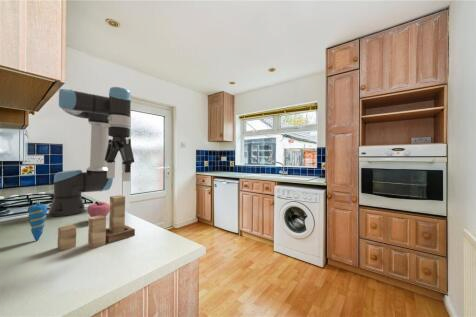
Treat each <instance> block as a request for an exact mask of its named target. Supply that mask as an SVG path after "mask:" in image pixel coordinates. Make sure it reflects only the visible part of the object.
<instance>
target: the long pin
mask: <svg viewBox="0 0 476 317" xmlns="http://www.w3.org/2000/svg"><path fill="white" fill-rule="evenodd" d="M109 207H110V211H109V219H108V220H109V221H108V222H109V224H108V225H109V226H108V228H109V233H110V234H114V233H118V232H122V231H124V229H125V225H126V224H125V221H126V219H125V218H126V195H122V194H121V195H120V194H119V195H111V196H109Z"/></svg>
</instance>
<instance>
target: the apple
mask: <svg viewBox="0 0 476 317" xmlns="http://www.w3.org/2000/svg"><path fill="white" fill-rule="evenodd" d="M87 214H88V215H89V217H94V216H100V215H102V216H105V217H106V218H107V216H108V215H109V214H110V203H107V202H106V201H105V202H103V201H99V202H98V201H95V202H94V203H91V204H89V205H88V207H87Z"/></svg>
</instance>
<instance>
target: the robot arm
mask: <svg viewBox="0 0 476 317" xmlns="http://www.w3.org/2000/svg"><path fill="white" fill-rule="evenodd" d="M108 92H109V93H108V96H104V95H97V94H93V93H88V92H83V91H82V92H81V91H78V90H77V91H76V90H73V89H67V88H66V89H65V88H60V89H59V90H58V107H59V108H61V109H62V111H63V112H65V113H67V114H68V115H71V116H73V117H77V118H81V119H86V120H87V119H88V120H87V121H88V123H89V124H90V126H91V127H90V128H91V130H90V131H91V133H90V151H89V152H90V155H89V157H90V158H89V166H88V167H87V168H86V172H85V171H84V172H83V170H82V169H74V170H73V169H72V170H66V171H65V170H64V171H59V172H56V173H55V174H54V176H53V177H54V178H53V200H52V203H51V205H50V207H49V210H48V216H51V217H65V216H71V215H77V214H78V215H79V214H81V213H83V212H84V211H85V210H86V209H85V208H86V207H85V206H86V205H85V204H84V202H83V199H82V193H93V192H104V191H105V192H106V191H109V190H110V189H111V188H112V186H113V182H114V179H115V176H116V158H117V155H118V153H120V157H121V159H122V163H121V164H122V167H121V168H122V171H121V172H122V174H121V176H122V177H121V181H122V182H130V181H131V170H132V169H131V167H132V166H131V165H132V163H135V158H134V154H133V148H132V142H131V140H132V139H131V138H130V137H131V129H130V128H131V108H132V107H131V101H132V95H131V94H132V93H131V91H130V90H129V89H127V88H123V87H120V86H112V87H110V88H109V91H108ZM109 137H111V138H109ZM85 212H86V211H85Z"/></svg>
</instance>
